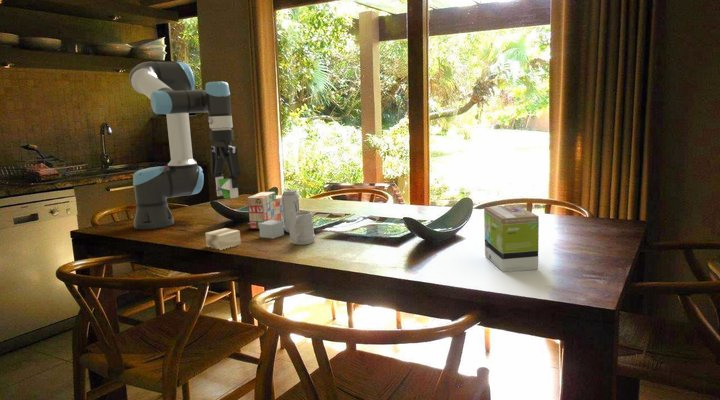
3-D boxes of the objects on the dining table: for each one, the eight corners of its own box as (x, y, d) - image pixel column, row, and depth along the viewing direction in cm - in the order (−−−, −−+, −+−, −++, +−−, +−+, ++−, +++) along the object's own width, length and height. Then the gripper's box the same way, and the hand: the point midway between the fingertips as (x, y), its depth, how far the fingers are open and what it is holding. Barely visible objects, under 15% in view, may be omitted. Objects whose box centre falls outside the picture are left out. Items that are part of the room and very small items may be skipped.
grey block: (260, 237, 183) (259, 223, 182) (271, 233, 188) (270, 220, 187) (273, 238, 180) (272, 225, 179) (284, 235, 185) (283, 221, 184)
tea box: (483, 256, 148) (483, 206, 146) (517, 254, 149) (517, 204, 147) (501, 273, 134) (502, 217, 131) (539, 270, 134) (540, 214, 132)
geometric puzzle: (210, 191, 177) (215, 173, 173) (228, 188, 182) (233, 171, 177) (220, 205, 174) (225, 187, 169) (238, 202, 179) (243, 184, 174)
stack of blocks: (273, 216, 218) (271, 188, 216) (287, 217, 216) (285, 187, 214) (249, 228, 198) (247, 197, 195) (264, 229, 196) (262, 197, 194)
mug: (319, 239, 176) (317, 205, 174) (302, 248, 165) (299, 212, 163) (300, 238, 179) (297, 204, 177) (281, 247, 168) (279, 211, 166)
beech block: (206, 247, 173) (205, 232, 172) (226, 242, 179) (225, 228, 178) (221, 250, 168) (219, 235, 167) (241, 245, 174) (239, 230, 173)
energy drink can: (296, 233, 187) (293, 192, 184) (281, 232, 188) (278, 191, 186) (303, 229, 192) (301, 189, 189) (288, 228, 194) (286, 189, 191)
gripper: (195, 130, 177) (202, 195, 181) (227, 129, 162) (234, 201, 166) (215, 128, 182) (221, 192, 186) (248, 128, 168) (254, 197, 171)
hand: (227, 196), depth 176 cm, fingers closed on geometric puzzle, 8 cm apart
